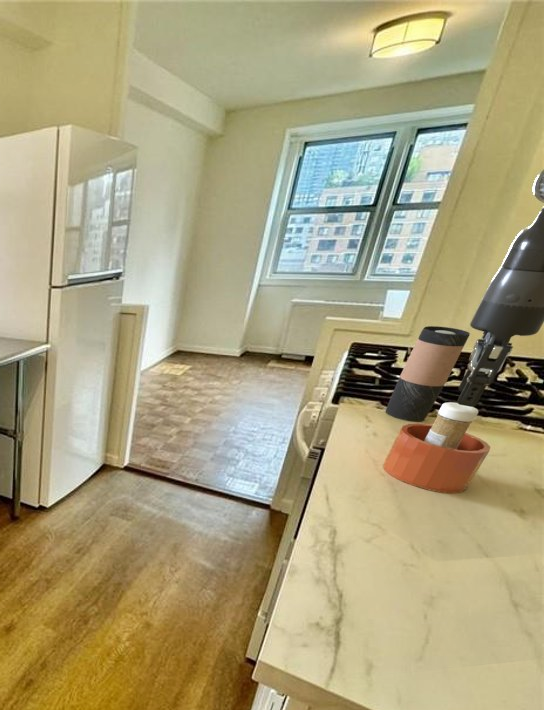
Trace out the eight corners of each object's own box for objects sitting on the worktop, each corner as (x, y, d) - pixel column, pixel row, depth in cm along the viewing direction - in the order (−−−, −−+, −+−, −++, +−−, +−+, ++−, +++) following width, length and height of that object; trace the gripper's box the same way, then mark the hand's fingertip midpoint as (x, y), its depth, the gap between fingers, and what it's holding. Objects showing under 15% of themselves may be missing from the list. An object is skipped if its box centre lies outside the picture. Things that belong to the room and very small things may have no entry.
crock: (421, 458, 95) (440, 422, 91) (485, 490, 85) (510, 451, 81) (367, 462, 94) (384, 425, 90) (425, 494, 84) (447, 454, 80)
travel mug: (435, 422, 110) (481, 334, 100) (402, 422, 110) (445, 335, 100) (406, 408, 116) (447, 325, 107) (375, 408, 116) (413, 326, 107)
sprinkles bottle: (446, 482, 86) (485, 413, 80) (414, 476, 88) (450, 409, 82) (434, 470, 90) (471, 403, 84) (404, 465, 92) (438, 399, 85)
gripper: (559, 310, 67) (498, 416, 75) (549, 296, 76) (496, 392, 84) (483, 304, 72) (433, 404, 80) (482, 291, 81) (437, 382, 89)
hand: (465, 398), depth 82 cm, fingers open, 8 cm apart
